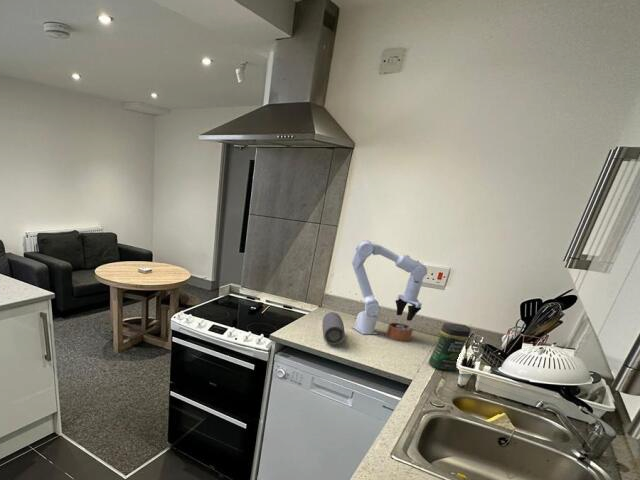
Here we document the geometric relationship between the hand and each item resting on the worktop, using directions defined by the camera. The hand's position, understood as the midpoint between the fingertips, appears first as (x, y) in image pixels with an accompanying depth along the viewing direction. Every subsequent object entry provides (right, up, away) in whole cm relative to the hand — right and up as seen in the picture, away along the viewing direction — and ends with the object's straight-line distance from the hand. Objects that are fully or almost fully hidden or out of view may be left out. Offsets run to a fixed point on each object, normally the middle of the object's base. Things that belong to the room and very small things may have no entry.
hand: (403, 317), depth 186 cm
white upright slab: (0, -9, +3) cm, 9 cm away
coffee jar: (+1, -23, -26) cm, 35 cm away
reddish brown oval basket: (0, -9, +5) cm, 10 cm away
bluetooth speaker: (-37, -10, -5) cm, 39 cm away
